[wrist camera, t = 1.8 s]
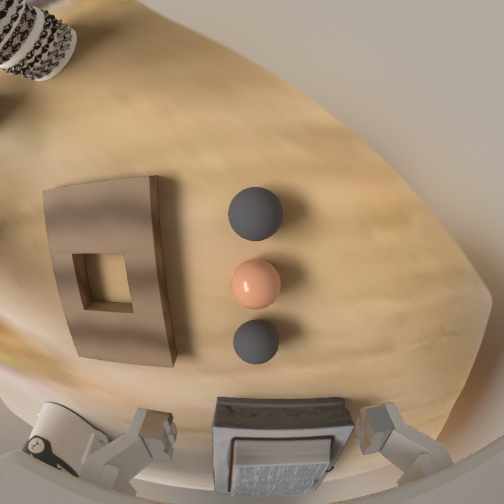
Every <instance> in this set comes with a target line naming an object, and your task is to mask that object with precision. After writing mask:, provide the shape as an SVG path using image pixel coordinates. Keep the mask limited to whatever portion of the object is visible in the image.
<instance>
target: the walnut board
mask: <svg viewBox="0 0 504 504" xmlns="http://www.w3.org/2000/svg"><path fill="white" fill-rule="evenodd" d="M43 203H44V213H45V222H46V229H47V236H48V243H49V249H50V254H51V260H52V265H53V270H54V274H55V279H56V283H57V287H58V292H59V295H60V299H61V303H62V307H63V310H64V314H65V317H66V320H67V324H68V327H69V330H70V333H71V336H72V339H73V342H74V345H75V347H76V350H77V353H78V356H79V357H85V358H91V359H97V360H104V361H111V362H119V363H127V364H136V365H146V366H157V367H170V368H173V366H174V363H175V360H176V357H177V353H176V347H175V342H174V336H173V330H172V324H171V318H170V311H169V304H168V297H167V290H166V282H165V274H164V265H163V256H162V246H161V234H160V222H159V207H158V188H157V175H156V176H144V177H134V178H124V179H115V180H107V181H100V182H92V183H85V184H78V185H72V186H66V187H60V188H54V189H49V190H43ZM83 253H124V259H125V266H126V272H127V279H128V285H129V290H130V296H131V301H132V303H118V302H100V301H93V300H92V296H91V291H90V287H89V282H88V277H87V272H86V266H85V261H84V255H83Z"/></svg>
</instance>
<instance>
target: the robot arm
mask: <svg viewBox="0 0 504 504" xmlns="http://www.w3.org/2000/svg"><path fill="white" fill-rule="evenodd" d="M359 414H360V417H358V418H357V419H356V422H355V433H356V436H357V438H359V439H360V440H361V442H360V444H359V445H360V448H361V451H362V454H363V455H366V454H371V453H376V452H380V453H381V454H382V455H383V456H384V457H386V458H387V459H388V460H389V461H391V462H392V463H393V464H394V465H396V466H397V467H398V468H399V469H400V470H402V471H403V472H404V474H403V475H402V476H401V477H400V479H399V480H398V482H397V483H398V487H394V488H391V489H388V490H385V491H381V492H378V493H374V494H370V495H366V496H362V497H358V498H354V499H349V500H345V501H340V502H334V503H329V504H504V435H503V436H501V437H499V438H498V439H496V440H495V441H493V442H492V443H490V444H488V445H487V446H485V447H483V448H482V449H480V450H478V451H477V452H475V453H473V454H471V455H469V456H468V457H466V458H464V459H462V460H460V461H458V462H456V463H453V461H452V459H451V457H450V455H449V453H448V452H447V450H446V448H445V446H444V445H443V444H441V443H439V442H437V441H436V440H434V439H432V438H430V437H428V436H427V435H425V434H423V433H421V432H420V431H418V430H416V429H414V428H413V427H411V426H409V425H408V426H406V425H405V423H404V421H403V419H402V417H401V415H400V413H399V411H398V409H397V407H396V406H395V404H394V403H393V402H388V403H384V404H378V405H373V406H368V407H363V408H361V410H360V412H359ZM37 417H38V420H37V422H36V424H35V426H34V428H33V430H32V433H31V435H30V438H29V441H27V442H26V444H25V445H24V447H23V448H22V451H20V450H14V451H11V452H9V453H6V454H4V455H1V456H0V504H170V503H165V502H159V501H154V500H150V499H145V498H141V497H137V496H136V490H135V489H134V488H133V487H132V485H131V484H130V483H129V481H130V480H131V479H132V478H133V477H134V476H136V475H137V474H138V473H139V472H140V471H141V470H142V469H143V468H144V467H145V466H146V465H148V464H149V463H150V462H151V461H152V459H157V460H164V461H171V459H172V454H173V447H172V444H174V443H175V441H176V434H177V430H176V425H175V423H174V422H172V421H173V416H172V413H167V412H161V411H154V410H149V409H143V408H138V409H137V410H136V411H135V414H134V416H133V419H132V422H131V424H130V427H129V429H128V432H127V434H123V435H121V436H120V437H118V438H117V439H115V440H114V441H112V442H110V443H109V440H108V437H107V436H106V435H105V434H103V433H102V432H100V431H98V430H96V429H95V428H93V427H91V426H90V425H89V424H88V423H87V422H85V421H84V420H83V419H82V418H80V417H79V416H78V415H76V414H75V413H73V412H71V411H70V410H68V409H66V408H64V407H62V406H60V405H57V404H54V403H44V404H43V406H42V409H41V412H39V414H38V416H37Z"/></svg>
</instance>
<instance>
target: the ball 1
mask: <svg viewBox="0 0 504 504" xmlns="http://www.w3.org/2000/svg"><path fill="white" fill-rule="evenodd" d="M282 215H283V214H282V207H281V204H280V202H279V200H278V199H277V197H276V196H275V195H274V194H273V193H272V192H270V191H268V190H266V189H264V188H259V187H251V188H247V189H244V190H242V191H241V192H239V193H238V194H237V195H236V196H235V197H234V198H233V200H232V202H231V204H230V207H229V212H228V216H229V222H230V224H231V227H232V228H233V230H234V231H235V232H236V233H237V234H238V235H239V236H241V237H242V238H244V239H247V240H250V241H261V240H264V239H267V238H269V237H270V236H272V235H273V234H274V233H275V232H276V231H277V230H278V228H279V226H280V224H281V221H282Z"/></svg>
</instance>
